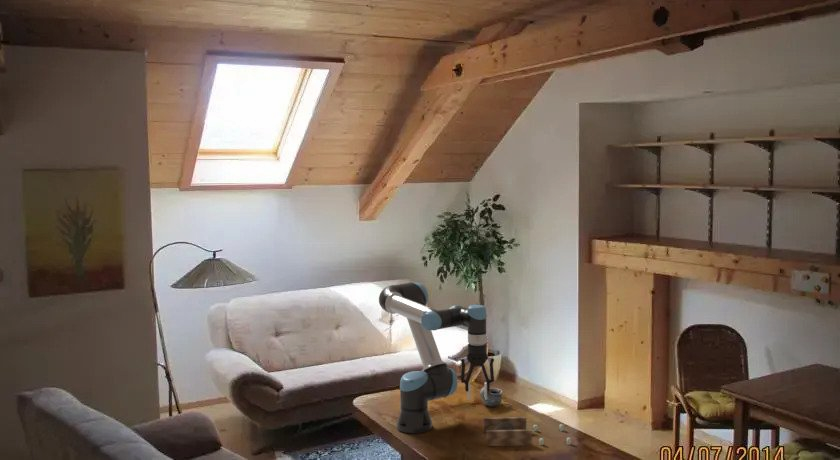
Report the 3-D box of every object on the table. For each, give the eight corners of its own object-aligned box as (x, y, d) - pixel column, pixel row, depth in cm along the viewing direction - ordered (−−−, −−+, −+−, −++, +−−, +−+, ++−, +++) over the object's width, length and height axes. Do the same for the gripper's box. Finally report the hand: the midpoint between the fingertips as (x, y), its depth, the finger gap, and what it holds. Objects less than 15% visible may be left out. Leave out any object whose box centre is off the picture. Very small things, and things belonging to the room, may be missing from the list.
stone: (492, 450, 306) (506, 438, 300) (484, 431, 311) (497, 419, 305) (509, 448, 312) (523, 436, 306) (501, 429, 317) (515, 417, 311)
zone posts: (539, 445, 301) (539, 439, 301) (533, 430, 317) (533, 424, 317) (571, 444, 301) (571, 439, 301) (563, 429, 317) (563, 424, 317)
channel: (486, 446, 301) (486, 431, 300) (483, 431, 317) (483, 417, 316) (531, 445, 301) (531, 430, 300) (525, 430, 317) (525, 416, 316)
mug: (505, 404, 351) (505, 383, 350) (493, 412, 340) (493, 390, 339) (487, 400, 356) (487, 380, 355) (474, 408, 345) (474, 387, 344)
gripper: (454, 346, 301) (454, 402, 303) (501, 345, 301) (501, 401, 304) (453, 341, 309) (453, 396, 311) (499, 340, 309) (499, 395, 311)
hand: (477, 398), depth 307 cm, fingers open, 6 cm apart
